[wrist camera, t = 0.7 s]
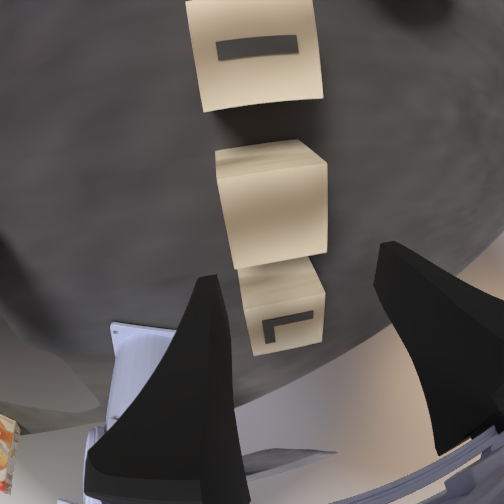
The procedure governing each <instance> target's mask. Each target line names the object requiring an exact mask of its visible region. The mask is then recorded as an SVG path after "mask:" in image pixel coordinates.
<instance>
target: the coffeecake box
mask: <svg viewBox="0 0 504 504" xmlns="http://www.w3.org/2000/svg"><path fill="white" fill-rule="evenodd" d="M20 430H21V429H20V428H19V426H18V424H17V422H16V421H14V420H12V419H10V418H8V417H6V416H4V415H2V414H0V491H2V492H4V493H6V494H11V485H12V477H13V469H14V463H15V456H16V450H17V445H18V440H19V436H20Z"/></svg>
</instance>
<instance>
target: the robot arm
mask: <svg viewBox="0 0 504 504" xmlns="http://www.w3.org/2000/svg"><path fill="white" fill-rule="evenodd" d="M374 288H375V290H376V293H377V295H378V297H379V300H380V302H381V304H382V306H383V308H384V310H385V312H386V314H387V315H388V317H389V319H390V321H391V322H392V324H393V326H394V327H395V329H396V331H397V333H398V334H399V336H400V338H401V340H402V342H403V343H404V345H405V347H406V349H407V351H408V352H409V355H410V357H411V359H412V361H413V364H414V366H415V369H416V371H417V374H418V376H419V379H420V382H421V385H422V388H423V392H424V395H425V398H426V402H427V406H428V410H429V414H430V418H431V423H432V429H433V435H434V442H435V449H436V451H437V454H438V456H441V455H443V454H444V453H446V452H448V451H450V450H451V449H453V448H455V447H456V446H458V445H460V444H461V443H463V442H465V441H466V440H468V439H469V438H471V439H472V440H471V441H470V442H468V443H467V444H465V445H463V446H462V447H460V448H459V449H457V450H455V451H454V452H452V453H450V454H448V455H447V456H445V457H443V458H441V459H439V460H438V461H436V462H434V463H432V464H430V465H428V466H426V467H424V468H422V469H420V470H418V471H416V472H414V473H412V474H410V475H407V476H405V477H403V478H401V479H399V480H396V481H394V482H391V483H389V484H386V485H384V486H381V487H379V488H376V489H373V490H371V491H368V492H365V493H362V494H359V495H356V496H353V497H350V498H347V499H344V500H340V501H337V502H333V503H329V504H388V503H390V502H393V501H395V500H397V499H399V498H402V497H404V496H406V495H409V494H411V493H413V492H415V491H417V490H419V489H421V488H423V487H425V486H427V485H429V484H431V483H432V482H434V481H436V480H438V479H440V478H442V477H443V476H445V475H447V474H449V473H450V472H452V471H454V470H455V469H457V468H459V467H460V466H462V465H463V464H465V463H467V462H468V461H470V460H471V459H473V458H474V457H475V456H477V455H479V454H480V453H481V452H482V454H481V458H480V459H479V460H478V461H476V462H474V463H473V464H471V465H469V466H468V467H466V468H464V469H462V470H461V471H459V472H458V473H456V474H454V475H453V476H452V477H450V478H449V479H447V480H446V481H445V482H444V484H445V486H446V489H445V490H443V491H441V492H440V493H438V494H436V495H434V496H432V497H430V498H428V499H426V500H424V501H422V502H420V503H418V504H504V300H501V299H499V298H496V297H494V296H491V295H490V294H487V293H485V292H483V291H481V290H479V289H477V288H475V287H473V286H471V285H469V284H467V283H466V282H464V281H462V280H460V279H458V278H457V277H455V276H453V275H451V274H450V273H448V272H446V271H445V270H443V269H441V268H440V267H438V266H436V265H435V264H433V263H431V262H430V261H428V260H427V259H425V258H423V257H422V256H420V255H418V254H417V253H415V252H413V251H412V250H410V249H408V248H407V247H405V246H403V245H401V244H399V243H397V242H395V241H391V242H386V243H381V244H380V250H379V256H378V262H377V268H376V274H375V279H374ZM110 329H111V335H112V341H113V347H114V352H115V357H116V360H115V365H114V371H113V376H112V382H111V388H110V395H109V401H108V408H107V416H106V424H105V426H104V428H103V427H100V426H96V427H95V428H93V429H92V430H90V431H89V434H88V438H87V444H86V451H85V458H84V470H83V490H84V494H83V501H84V504H249V503H250V501H251V499H250V495H249V490H248V485H247V480H246V476H245V471H244V465H243V460H242V455H241V450H240V444H239V437H238V432H237V425H236V419H235V412H234V404H233V388H232V355H231V336H230V329H229V322H228V315H227V311H226V308H225V304H224V300H223V297H222V293H221V289H220V285H219V282H218V278H217V274H216V275H210V276H204V277H199V278H198V279H197V281H196V284H195V287H194V290H193V293H192V295H191V298H190V301H189V303H188V306H187V308H186V310H185V313H184V315H183V317H182V319H181V322H180V324H179V326H178V328H177V330H171V329H162V328H154V327H146V326H139V325H131V324H125V323H118V322H113V323H111V326H110ZM57 504H77V503H73V502H69V501H66V500H62V499H58V500H57Z"/></svg>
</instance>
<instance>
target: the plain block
mask: <svg viewBox="0 0 504 504" xmlns="http://www.w3.org/2000/svg"><path fill="white" fill-rule="evenodd" d="M215 157H216V174H217V183H218V188H219V193H220V199H221V204H222V209H223V214H224V219H225V224H226V229H227V234H228V239H229V244H230V249H231V254H232V259H233V264H234V268H235V269H239V268H245V267H251V266H256V265H262V264H267V263H273V262H278V261H283V260H289V259H294V258H300V257H305V256H310V255H316V254H321V253H326V252H327V227H328V181H327V163H326V162H325V161H324V160H323V159H322V158H320V157H319V156H318V155H317V154H316V153H314V152H313V151H312V150H311V149H310V148H308V147H307V146H306V145H305V144H303V143H302V142H301V141H300V140H298V139H294V140H286V141H277V142H270V143H262V144H255V145H249V146H242V147H236V148H230V149H224V150H219V151H215Z"/></svg>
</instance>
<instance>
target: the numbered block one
mask: <svg viewBox="0 0 504 504" xmlns="http://www.w3.org/2000/svg"><path fill="white" fill-rule="evenodd" d="M186 9H187V16H188V22H189V28H190V35H191V41H192V47H193V53H194V59H195V65H196V71H197V77H198V83H199V89H200V95H201V100H202V106H203V112H209V111H214V110H220V109H226V108H232V107H238V106H245V105H253V104H261V103H269V102H279V101H290V100H303V99H321V98H323V89H322V77H321V66H320V57H319V48H318V39H317V31H316V24H315V17H314V10H313V4H312V0H192V1H187V2H186Z"/></svg>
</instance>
